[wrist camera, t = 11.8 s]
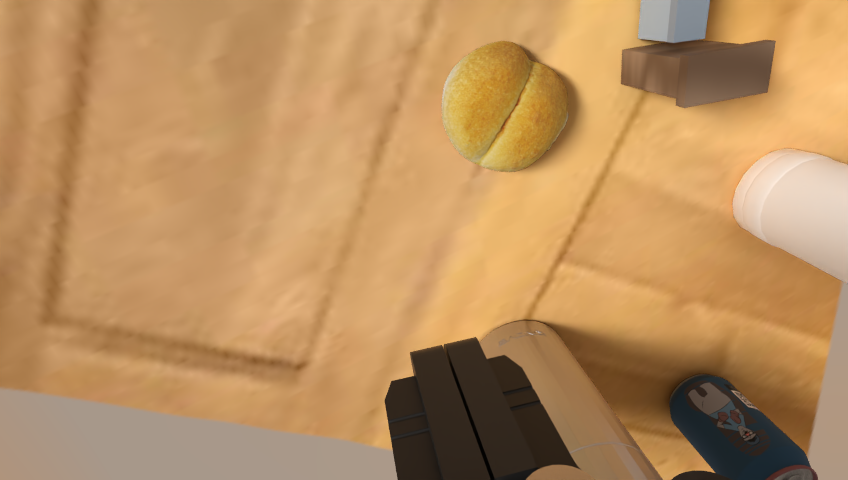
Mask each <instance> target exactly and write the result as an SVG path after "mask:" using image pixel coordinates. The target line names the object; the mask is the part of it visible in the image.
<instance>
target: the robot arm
mask: <svg viewBox="0 0 848 480" xmlns="http://www.w3.org/2000/svg"><path fill="white" fill-rule="evenodd" d="M410 356H411V362H412V367H413V373H414V376H412V377H408V378H403V379H399V380H395V381H391V384H390V387H389V390H388V393H387V395H386V398H385V405H386V411H387V417H388V423H389V430H390V436H391V442H392V448H393V454H394V460H395V466H396V472H397V477H398V480H663V479H662V478H661V476H660V475H659V474H658V472H657V471H656V470H655V468H654V467H653V465H652V464H651V463H650V461H649V460H648V459H647V457H646V456H645V455H644V453H643V452H642V450H641V449H640V448H639V446H638V445H637V444H636V442H635V441H634V439H633V438H632V437H631V435H630V434H629V432H628V431H627V430H626V428H625V427H624V425H623V424H622V423H621V421H620V420H619V419H618V417H617V416H616V414H615V413H614V412H613V410H612V409H611V407H610V406H609V405H608V403H607V402H606V400H605V399H604V398H603V396H602V395H601V394H600V392H599V391H598V389H597V388H596V387H595V385H594V384H593V382H592V381H591V380H590V378H589V377H588V376H587V374H586V373H585V371H584V370H583V369H582V367H581V366H580V364H579V363H578V361H577V360H576V359H575V357H574V356H573V354H572V353H571V352H570V350H569V349H568V348H567V346H566V345H565V343H564V342H563V341H562V339H561V338H560V336H559V335H558V334H557V333H556V332H555V331H554V330H553V329H552V328H551V327H549V326H547V325H545V324H544V323H540V322H536V321H525V320H524V321H517V322H512V323H509V324H506V325H503V326H501V327H499V328H497V329H495V330H493V331H492V332H491V333H489V334H488V335H487V336H485V337H484V338H483V339H482V340H481V342H480V343H479V341H478V339H477V338H476V337H474V338H470V339H466V340H461V341H457V342H453V343H448V344H444V348H443V346H442V345H440V346H436V347H431V348H427V349H423V350H418V351H414V352H410ZM672 480H732V479H730V478H727V477H725V476H722V475H720V474H716V473H712V472H707V471H689V472H684V473H681V474H679V475H677V476H675V477H674V478H673V479H672Z"/></svg>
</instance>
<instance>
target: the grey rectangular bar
mask: <svg viewBox="0 0 848 480" xmlns="http://www.w3.org/2000/svg"><path fill="white" fill-rule="evenodd" d="M709 3H710V0H641V7H640V20H639V33H638V39H646V40H655V41H664V42H670V43H676V42H683V41H691V40H699V39H705V34H706V26H707V19H708V11H709Z"/></svg>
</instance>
